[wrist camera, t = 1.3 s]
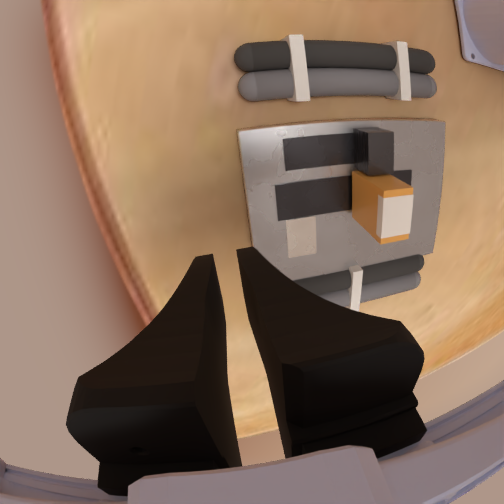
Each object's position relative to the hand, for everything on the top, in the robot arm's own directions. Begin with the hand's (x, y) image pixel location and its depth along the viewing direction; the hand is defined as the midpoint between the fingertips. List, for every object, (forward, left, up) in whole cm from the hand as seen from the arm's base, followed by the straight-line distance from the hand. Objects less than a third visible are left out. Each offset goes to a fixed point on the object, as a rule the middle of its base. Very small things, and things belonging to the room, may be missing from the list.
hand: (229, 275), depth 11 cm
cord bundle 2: (-9, +9, -10) cm, 16 cm away
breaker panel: (-9, +2, -10) cm, 14 cm away
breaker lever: (-9, +1, -8) cm, 13 cm away
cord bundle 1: (-9, -7, -10) cm, 15 cm away
